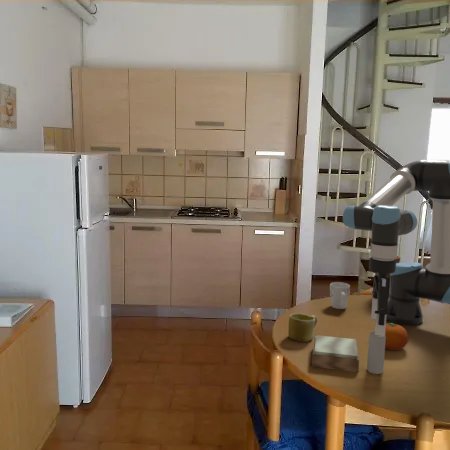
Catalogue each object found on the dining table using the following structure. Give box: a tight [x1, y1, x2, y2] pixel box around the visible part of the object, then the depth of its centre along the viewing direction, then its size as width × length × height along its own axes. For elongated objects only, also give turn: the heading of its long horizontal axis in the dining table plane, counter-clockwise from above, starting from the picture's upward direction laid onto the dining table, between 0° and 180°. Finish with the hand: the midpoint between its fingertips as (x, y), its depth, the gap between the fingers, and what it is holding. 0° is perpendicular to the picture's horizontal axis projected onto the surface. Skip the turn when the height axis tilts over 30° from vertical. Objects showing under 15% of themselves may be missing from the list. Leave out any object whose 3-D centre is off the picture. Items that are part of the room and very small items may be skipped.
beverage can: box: [366, 331, 386, 375], centre depth 138 cm, size 5×5×12 cm
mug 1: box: [287, 313, 318, 343], centre depth 164 cm, size 12×10×10 cm
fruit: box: [385, 322, 409, 351], centre depth 156 cm, size 11×10×8 cm
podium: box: [311, 334, 360, 373], centre depth 146 cm, size 14×14×5 cm
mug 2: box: [329, 281, 351, 310], centre depth 196 cm, size 11×8×10 cm
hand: (377, 326), depth 137 cm, fingers open, 13 cm apart
